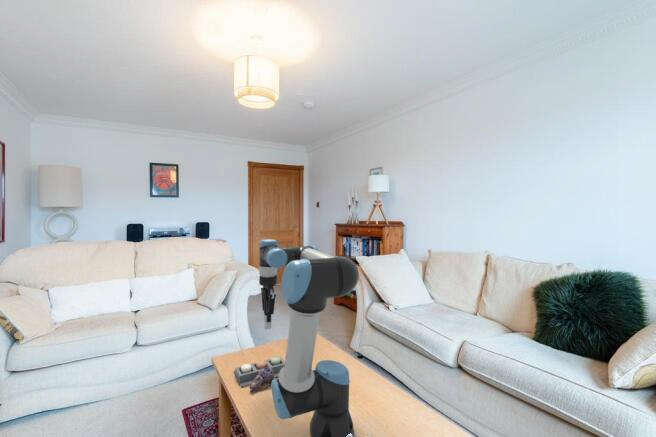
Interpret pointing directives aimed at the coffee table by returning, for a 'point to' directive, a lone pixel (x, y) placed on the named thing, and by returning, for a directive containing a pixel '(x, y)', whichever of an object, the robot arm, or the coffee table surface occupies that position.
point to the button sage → (275, 361)
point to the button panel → (256, 372)
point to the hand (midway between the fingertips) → (267, 328)
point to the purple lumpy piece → (262, 378)
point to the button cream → (245, 368)
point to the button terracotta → (260, 364)
